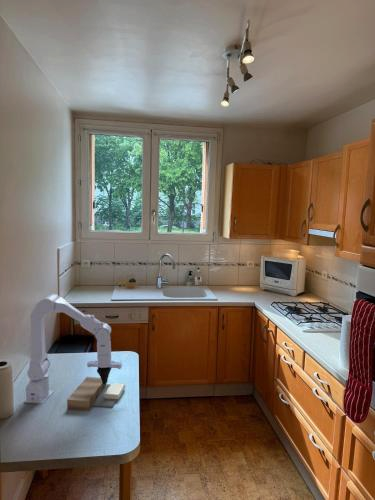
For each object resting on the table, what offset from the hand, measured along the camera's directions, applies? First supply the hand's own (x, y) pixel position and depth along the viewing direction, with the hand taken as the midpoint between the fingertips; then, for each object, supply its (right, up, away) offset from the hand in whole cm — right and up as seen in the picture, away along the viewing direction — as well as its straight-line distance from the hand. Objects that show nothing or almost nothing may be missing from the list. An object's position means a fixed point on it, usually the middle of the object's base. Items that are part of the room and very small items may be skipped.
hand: (105, 383), depth 147 cm
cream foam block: (+4, -3, 0) cm, 5 cm away
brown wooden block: (-7, -5, -2) cm, 9 cm away
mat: (+2, -5, -1) cm, 5 cm away
